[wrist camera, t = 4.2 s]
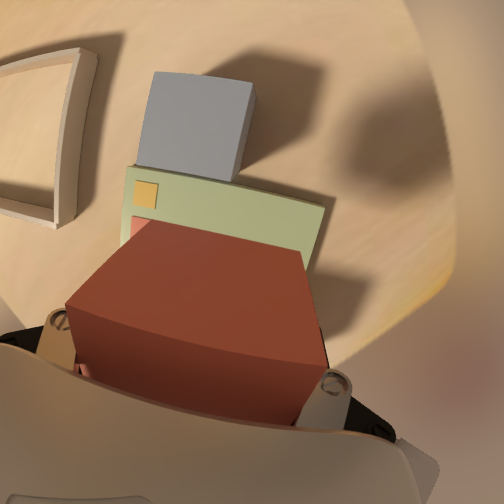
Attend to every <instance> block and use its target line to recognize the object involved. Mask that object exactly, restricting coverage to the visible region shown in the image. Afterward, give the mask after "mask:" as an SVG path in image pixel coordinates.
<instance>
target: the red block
mask: <svg viewBox="0 0 504 504" xmlns="http://www.w3.org/2000/svg"><path fill="white" fill-rule="evenodd" d="M65 307H66V312H67V317H68V322H69V326H70V331H71V335H72V339H73V343H74V347H75V350H76V354H77V357H78V361H79V364H80V368H81V371H82V374H83V376H86V377H88V378H91V379H93V380H96V381H98V382H101V383H104V384H106V385H109V386H112V387H114V388H117V389H120V390H123V391H126V392H129V393H132V394H135V395H138V396H141V397H145V398H148V399H151V400H155V401H158V402H162V403H165V404H169V405H173V406H177V407H181V408H185V409H189V410H193V411H198V412H202V413H207V414H212V415H217V416H222V417H227V418H233V419H239V420H245V421H252V422H259V423H267V424H276V425H286V426H291V424H292V423H293V421H294V420H295V418H296V417H297V415H298V414H299V412H300V411H301V409H302V408H303V406H304V405H305V403H306V402H307V400H308V398H309V397H310V395H311V394H312V392H313V391H314V389H315V387H316V386H317V384H318V382H319V381H320V379H321V377H322V376H323V374H324V372H325V371H326V369H327V367H328V365H327V360H326V355H325V351H324V346H323V342H322V337H321V333H320V328H319V324H318V320H317V316H316V312H315V307H314V303H313V299H312V295H311V291H310V287H309V283H308V279H307V275H306V271H305V268H304V264H303V260H302V256H301V252H300V251H296V250H292V249H287V248H283V247H279V246H274V245H270V244H265V243H261V242H256V241H252V240H247V239H243V238H238V237H233V236H229V235H224V234H220V233H215V232H211V231H206V230H201V229H197V228H192V227H187V226H183V225H178V224H173V223H169V222H164V221H159V220H154V219H151V220H150V221H149V222H148V223H147V224H146V225H145V226H144V227H142V228H141V229H140V230H139V231H138V232H137V233H136V234H135V235H134V236H132V237H131V238H130V239H129V240H128V241H127V242H126V243H125V244H124V245H123V246H122V247H121V248H119V249H118V250H117V251H116V252H115V253H114V254H113V255H112V256H111V257H110V258H109V259H108V260H107V261H106V262H105V263H104V264H103V265H102V266H101V267H100V268H99V269H98V270H97V271H96V272H95V273H94V274H93V275H92V276H91V277H90V278H89V279H88V280H87V281H86V282H85V283H84V284H83V285H82V286H81V287H80V288H79V289H78V290H77V291H76V292H75V293H74V294H73V295H72V296H71V298H70V299H69V300H68V301H67V302H66V303H65Z"/></svg>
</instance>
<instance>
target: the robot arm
mask: <svg viewBox="0 0 504 504" xmlns="http://www.w3.org/2000/svg"><path fill="white" fill-rule="evenodd" d="M319 328H320V327H319ZM320 333H321V337H322V342H323V346H324V351H325V355H326V360H327V365H328V367H327V369H326V371H325V372H324V374H323V376H322V377H321V379H320V381H319V382H318V384H317V386H316V387H315V389H314V391H313V392H312V394H311V395H310V397H309V398H308V400H307V402H306V403H305V405H304V406H303V408H302V409H301V411H300V412H299V414H298V415H297V417H296V418H295V420H294V421H293V423H292V424H291V426H286V425H276V424H267V423H259V422H252V421H245V420H239V419H233V418H227V417H222V416H217V415H212V414H207V413H202V412H198V411H193V410H189V409H185V408H181V407H177V406H173V405H169V404H165V403H162V402H158V401H155V400H151V399H148V398H145V397H141V396H138V395H135V394H132V393H129V392H126V391H123V390H120V389H117V388H114V387H112V386H109V385H106V384H104V383H101V382H98V381H96V380H93V379H91V378H88V377H86V376H83V374H82V371H81V368H80V364H79V361H78V357H77V354H76V350H75V347H74V343H73V339H72V335H71V331H70V326H69V322H68V317H67V312H66V308H59V309H56V310H54V311H52V312H51V313H50V314H49V315H48V317H47V319H46V322H45V325H44V326H39V327H34V328H29V329H25V330H20V331H15V332H10V333H6V334H4V335H2V336H0V504H425V503H426V502H427V500H428V498H429V495H430V494H431V491H432V489H433V487H434V485H435V483H436V481H437V478H438V476H439V472H440V469H439V465H438V463H437V461H436V460H435V459H433V458H432V457H430V456H429V455H427V454H426V453H424V452H423V451H421V450H419V449H418V448H416V447H415V446H413V445H412V444H410V443H408V442H407V441H406V440H404V439H402V438H400V439H399V440H398V439H397V438H396V434H395V430H394V429H393V428H392V426H391V425H390V424H389V423H388V422H386V421H385V420H383V419H382V418H381V417H379V416H378V415H376V414H375V413H374V412H372V411H371V410H370V409H368V408H367V407H365V406H364V405H362V404H361V403H360V402H359V401H357V400H356V399H355V398H353V397H352V396H351V393H352V384H351V381H350V380H349V378H348V377H347V376H346V375H344V374H343V373H342V372H340V371H338V370H334V369H330V367H329V362H328V358H327V353H326V349H325V344H324V340H323V336H322V332H321V328H320Z"/></svg>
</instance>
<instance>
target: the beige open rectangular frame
mask: <svg viewBox="0 0 504 504" xmlns="http://www.w3.org/2000/svg"><path fill="white" fill-rule="evenodd" d="M97 56H98V54H96V53H94V52H91V51H89V50H86V49H84V48H81V47H78V48H72V49H66V50H60V51H55V52H51V53H46V54H42V55H38V56H34V57H30V58H26V59H23V60H19V61H16V62H12V63H9V64H6V65H3V66H0V78H1V77H4V76H8V75H11V74H15V73H19V72H23V71H28V70H32V69H37V68H42V67H47V66H53V65H59V64H65V63H73V65H72V69H71V73H70V77H69V81H68V85H67V89H66V94H65V99H64V104H63V110H62V116H61V122H60V129H59V136H58V144H57V154H56V166H55V182H54V209H49V208H45V207H41V206H36V205H32V204H28V203H23V202H19V201H15V200H10V199H6V198H2V197H0V214H4V215H7V216H10V217H14V218H17V219H21V220H24V221H28V222H31V223H35V224H38V225H42V226H45V227H49V228H53V229H56V230H57V229H58V228H60V227H62V226H64V225H66V224H68V223H70V222H72V221H74V216H75V215H77V192H78V176H79V164H80V155H81V146H82V138H83V131H84V125H85V119H86V113H87V108H88V103H89V98H90V93H91V89H92V84H93V80H94V76H95V72H96V68H97V65H98V61H99V60H98V59H97Z"/></svg>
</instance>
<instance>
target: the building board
mask: <svg viewBox="0 0 504 504" xmlns="http://www.w3.org/2000/svg"><path fill="white" fill-rule="evenodd" d="M324 211H325V207H324V206H323V205H321V204H317V203H313V202H309V201H305V200H301V199H298V198H294V197H290V196H286V195H281V194H277V193H273V192H269V191H265V190H260V189H256V188H252V187H247V186H243V185H238V184H233V183H229V182H224V181H219V180H214V179H209V178H204V177H199V176H193V175H188V174H183V173H177V172H171V171H166V170H160V169H154V168H147V167H141V166H134V165H132V166H128V167H127V169H126V177H125V186H124V196H123V207H122V220H121V239H120V248H121V247H122V246H123V245H124V244H125V243H126V242H127V241H128V240H129V239H130V238H131V237H132V236H134V235H135V234H136V233H137V232H138V231H139V230H140V229H141V228H142V227H144V226H145V225H146V224H147V223H148V222H149V221H150V220H151V219H154V220H159V221H164V222H169V223H173V224H178V225H183V226H187V227H192V228H197V229H201V230H206V231H211V232H215V233H220V234H224V235H229V236H233V237H238V238H243V239H247V240H252V241H256V242H261V243H265V244H270V245H274V246H279V247H283V248H287V249H292V250H296V251H300V252H301V256H302V260H303V264H304V268H305V271H306V269H307V266H308V263H309V260H310V257H311V253H312V250H313V247H314V244H315V241H316V238H317V234H318V231H319V228H320V224H321V221H322V218H323V214H324Z"/></svg>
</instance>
